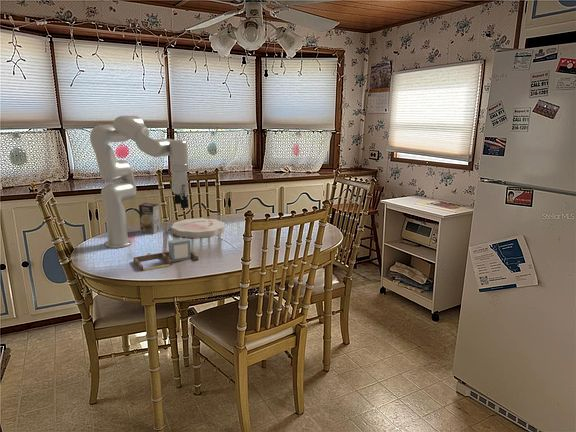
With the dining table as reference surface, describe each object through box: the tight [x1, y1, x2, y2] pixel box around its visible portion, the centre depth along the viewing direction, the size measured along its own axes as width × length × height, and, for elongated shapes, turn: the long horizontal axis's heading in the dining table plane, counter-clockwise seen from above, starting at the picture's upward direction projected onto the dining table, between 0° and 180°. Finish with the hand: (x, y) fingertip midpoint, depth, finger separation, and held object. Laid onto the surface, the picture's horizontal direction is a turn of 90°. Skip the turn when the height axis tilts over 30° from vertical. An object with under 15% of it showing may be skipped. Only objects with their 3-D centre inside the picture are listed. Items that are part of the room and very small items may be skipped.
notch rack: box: [133, 250, 200, 272], centre depth 186 cm, size 14×26×3 cm, turn 123°
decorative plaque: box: [170, 217, 226, 239], centre depth 236 cm, size 30×4×30 cm
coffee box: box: [138, 202, 161, 235], centre depth 229 cm, size 9×6×16 cm
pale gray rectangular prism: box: [167, 237, 192, 263], centre depth 188 cm, size 4×9×9 cm, turn 123°
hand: (181, 205), depth 184 cm, fingers open, 9 cm apart
